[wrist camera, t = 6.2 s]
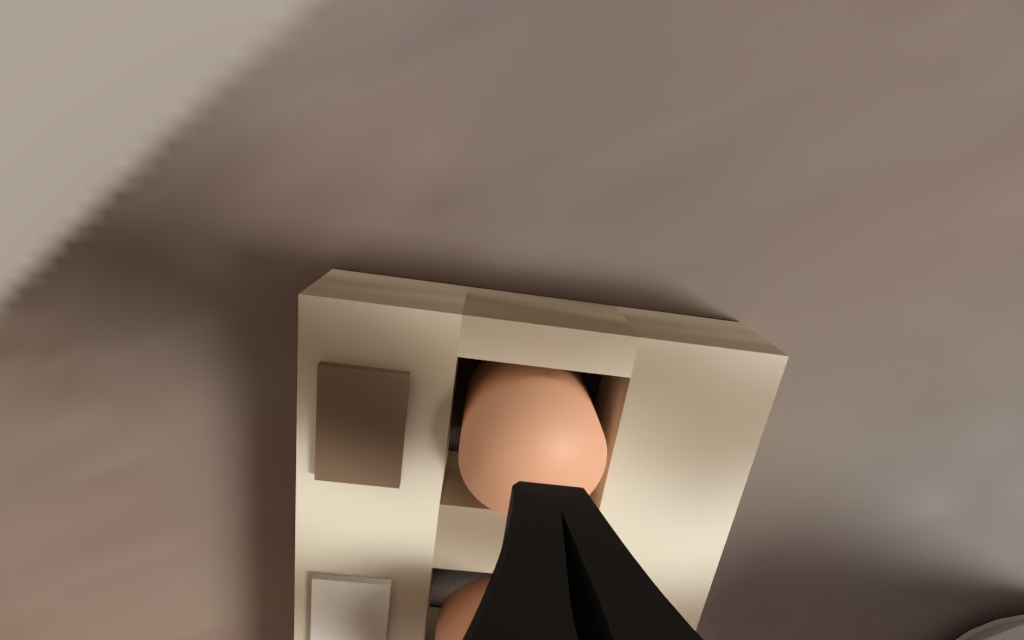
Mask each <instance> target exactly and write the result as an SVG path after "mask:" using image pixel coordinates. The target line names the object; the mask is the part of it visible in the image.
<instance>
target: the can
mask: <svg viewBox="0 0 1024 640" xmlns="http://www.w3.org/2000/svg"><path fill="white" fill-rule="evenodd" d="M956 640H1024V615H1019V616H1013V617H1007V618H1001V619H996V620H994V621H991V622H989V623H986V624H984V625H981V626H979V627H976V628H974V629H971V630H969V631H968V632H966V633H965V634H963V635H962V636H960V637H959V638H957V639H956Z"/></svg>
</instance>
